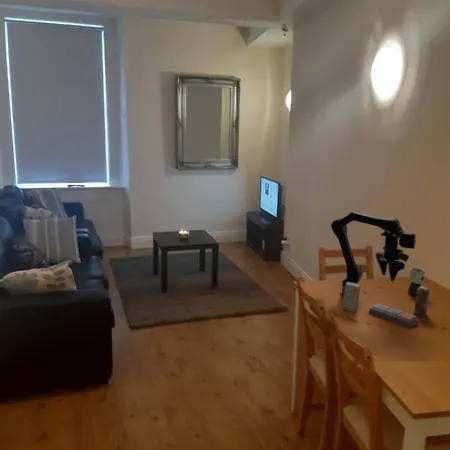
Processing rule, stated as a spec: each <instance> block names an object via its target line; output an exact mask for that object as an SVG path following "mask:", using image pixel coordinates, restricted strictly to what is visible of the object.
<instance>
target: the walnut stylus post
mask: <svg viewBox="0 0 450 450" xmlns="http://www.w3.org/2000/svg"><path fill="white" fill-rule="evenodd" d="M430 292H431V289H430V288H429V287H428V286H427V287H426V286H423V285H421V287H419V288H418V289H417V295H415V302H414V310H413V315H414V316H416V317H418V316H419V317H421V318H425V317H426V315H427V313H428V305H429V298H430Z"/></svg>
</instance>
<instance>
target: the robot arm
mask: <svg viewBox="0 0 450 450" xmlns="http://www.w3.org/2000/svg"><path fill="white" fill-rule="evenodd" d="M351 222H358V223H363V224H366V225H370V226H373V227H378V228H380V229H382V230H383V231H384V232H382V233H381V234H380V236H382V237H385V238H384V245H383V246H382V250H383V252H376V254H375V259H376V262H377V264H378V266H379V269H380V272H381V274H382V276H386V272H387V270H388V273H389V278H390V282H394V281H395V279H396V277H397V274H398V273H399V271H403V270H405V266H406V264H405V263H407V262H408V260H409V257H410V255H409V254H407V253H404V251H403V249H412V250H415V249H416V244H417V241H416V238H417V237H416V234H415V233H406V232H405V231H404V229H403V228H402V226H401V222H400V220H399V219H397V218H395V217H394V218H393V217H378V216H374V215H369V214H366V213H361V212H357V211H354V210H353V211H350V212H349V213H348V214H347V215H345V216H344V217H342V218H341V217H340V218H337V219H335V220H333V221H332V223H331V225H330V228H331V230H332V232H333V234H334V236H335V237H336V238H337V240H338V244H339V245H340V250H341V252H342V255H343V259H344V262H345V266H346V277H345V278H344V279H343V280H342V282H341V286H342V287H341V292H340V295H341V297H343V298H344V291H345V284H346V283H347V282H351V283H356V284H359V282H360V281H361V280H362V278H363V274H364V272H363V270H362V266H361V265H358V264H357V263H356V261H355V257H354V254H353V251H352V247H351V244H350V242H349V238H348V224H350V223H351ZM398 246H400V248H403V249H400V248H398ZM404 262H405V263H404Z"/></svg>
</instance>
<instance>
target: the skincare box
mask: <svg viewBox="0 0 450 450" xmlns="http://www.w3.org/2000/svg"><path fill="white" fill-rule="evenodd" d="M360 292H361V284H360V283H357V284H356V283H351V282H347V283H346V284H345V291H344V297H343V300H342V306H341V307H342V308H341V309H342V310H346V311H349V312H354V313H356V312H357V310H358V308H359V307H358V305H359V300H360V299H359V298H360Z"/></svg>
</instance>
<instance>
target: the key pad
mask: <svg viewBox="0 0 450 450" xmlns="http://www.w3.org/2000/svg"><path fill="white" fill-rule="evenodd" d="M368 310H369V311H368V313H369V314H372V315H374V316H376V317H379V318H381V317H382V319H384V320H387V321H390V322H392V323H395V324H398V325H400V326H403V327H405V328H409V329H410V328H413V327H414V326H417V325H418V324H419V319H417V318H416V320H415V321H413V322H410V323H408V322H405V321H403V320H400V319H397V315H398V314H401V313H403V312H404V311H403V310H400V309H397V308H394V307H391V306H388V305H386V304H382V303H380V302H378V303H376V304H373V305H372V306H371V308H369V309H368Z"/></svg>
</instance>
